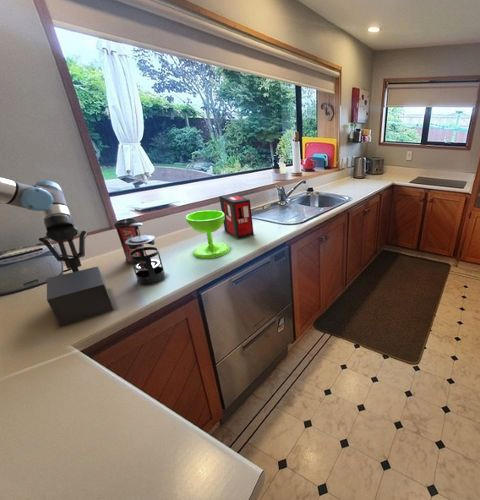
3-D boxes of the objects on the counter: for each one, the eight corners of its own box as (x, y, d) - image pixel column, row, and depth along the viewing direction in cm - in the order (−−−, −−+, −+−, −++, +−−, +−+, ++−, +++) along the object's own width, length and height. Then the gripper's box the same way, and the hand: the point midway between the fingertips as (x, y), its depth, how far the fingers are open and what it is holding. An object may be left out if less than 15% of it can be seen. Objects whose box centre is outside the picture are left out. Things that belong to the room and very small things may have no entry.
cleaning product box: (224, 230, 160) (219, 196, 151) (239, 227, 166) (235, 193, 157) (238, 239, 150) (233, 202, 141) (253, 235, 156) (249, 199, 147)
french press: (169, 280, 110) (154, 225, 100) (140, 288, 104) (122, 230, 94) (161, 269, 117) (147, 217, 108) (134, 276, 111) (116, 221, 102)
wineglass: (236, 246, 141) (231, 211, 134) (217, 260, 127) (210, 222, 119) (207, 242, 143) (201, 209, 136) (185, 256, 129) (177, 219, 122)
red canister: (147, 254, 129) (136, 217, 122) (147, 260, 124) (136, 222, 116) (127, 257, 125) (114, 219, 118) (126, 264, 120) (112, 225, 112)
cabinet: (58, 303, 94) (46, 278, 90) (107, 289, 103) (98, 266, 98) (60, 326, 84) (46, 299, 80) (113, 309, 92) (104, 284, 88)
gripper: (83, 221, 112) (102, 273, 108) (36, 228, 104) (55, 284, 100) (79, 211, 106) (98, 266, 102) (29, 217, 98) (48, 277, 94)
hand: (77, 275), depth 101 cm, fingers closed
